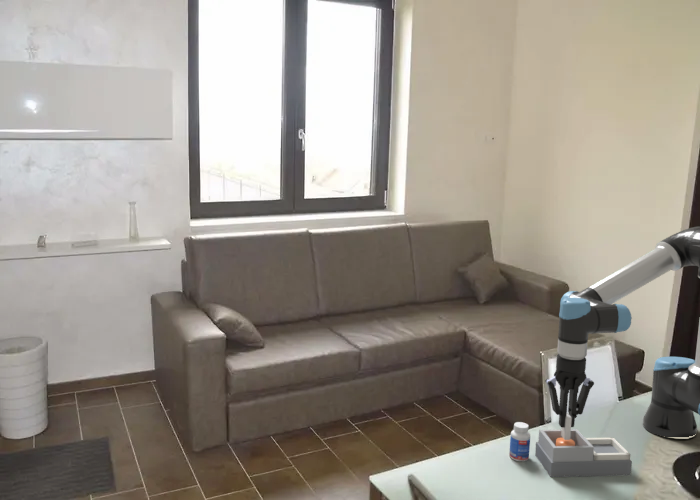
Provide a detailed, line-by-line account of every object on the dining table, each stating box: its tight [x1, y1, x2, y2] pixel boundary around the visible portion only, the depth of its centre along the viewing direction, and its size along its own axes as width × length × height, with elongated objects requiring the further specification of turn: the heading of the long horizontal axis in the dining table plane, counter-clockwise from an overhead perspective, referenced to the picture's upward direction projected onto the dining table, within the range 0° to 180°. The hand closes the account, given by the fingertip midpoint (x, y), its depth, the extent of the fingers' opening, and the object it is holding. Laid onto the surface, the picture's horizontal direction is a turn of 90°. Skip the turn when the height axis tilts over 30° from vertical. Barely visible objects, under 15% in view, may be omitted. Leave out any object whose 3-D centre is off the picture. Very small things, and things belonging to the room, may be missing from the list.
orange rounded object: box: [556, 438, 575, 446], centre depth 175 cm, size 5×5×4 cm
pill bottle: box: [508, 421, 531, 462], centre depth 179 cm, size 6×5×10 cm
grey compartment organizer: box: [534, 428, 633, 478], centre depth 175 cm, size 22×12×8 cm, turn 93°
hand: (565, 437), depth 174 cm, fingers closed
